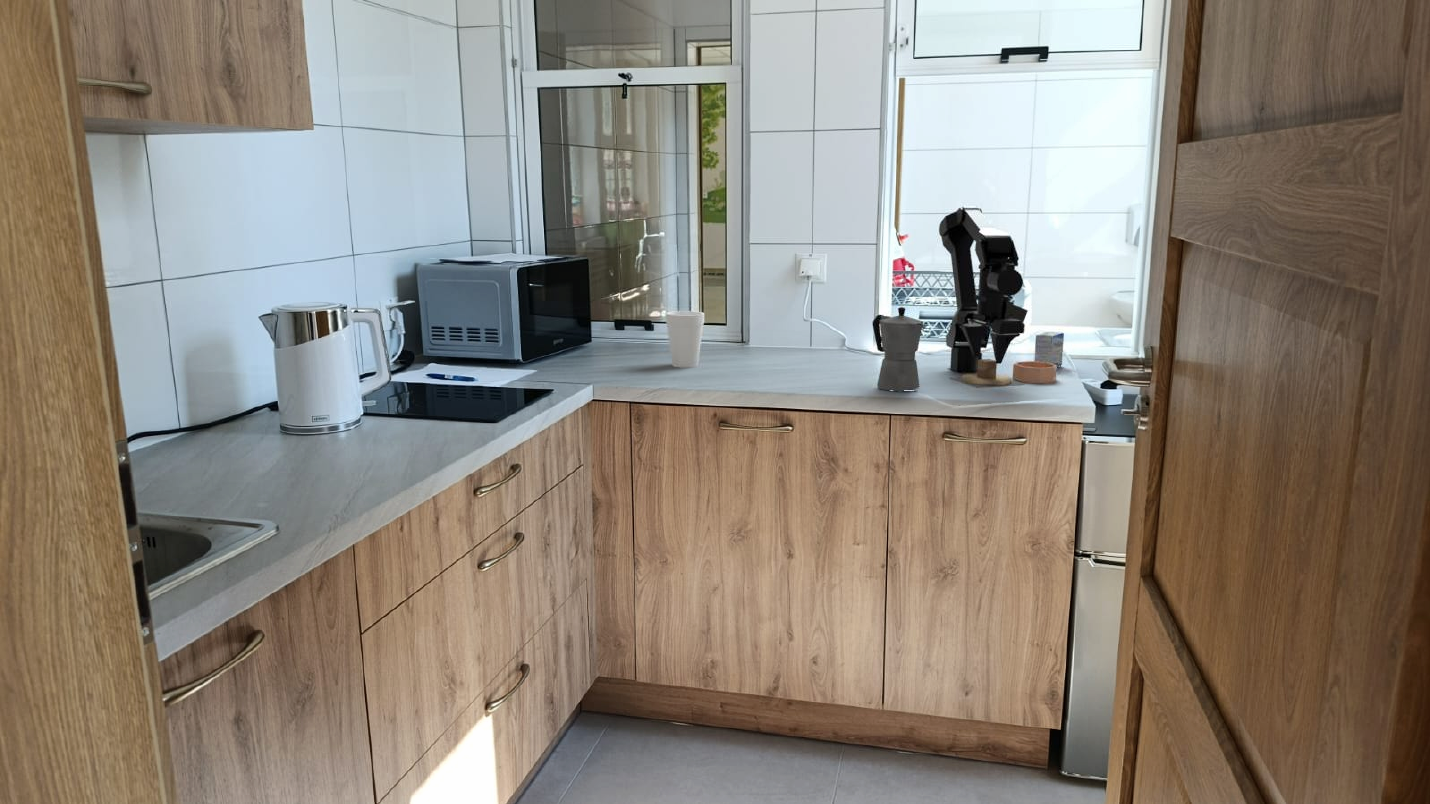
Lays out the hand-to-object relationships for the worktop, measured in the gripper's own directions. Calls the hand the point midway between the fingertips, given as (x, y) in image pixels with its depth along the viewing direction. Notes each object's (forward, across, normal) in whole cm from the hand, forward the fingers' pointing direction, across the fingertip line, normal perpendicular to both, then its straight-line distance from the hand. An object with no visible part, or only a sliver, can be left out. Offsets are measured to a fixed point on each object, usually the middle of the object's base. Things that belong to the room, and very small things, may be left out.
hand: (987, 360), depth 230 cm
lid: (+5, 0, 0) cm, 5 cm away
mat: (+5, 0, 0) cm, 5 cm away
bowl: (+5, -1, -12) cm, 13 cm away
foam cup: (+6, +42, +59) cm, 73 cm away
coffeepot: (+6, +2, +22) cm, 23 cm away
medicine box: (+6, +14, -26) cm, 30 cm away
